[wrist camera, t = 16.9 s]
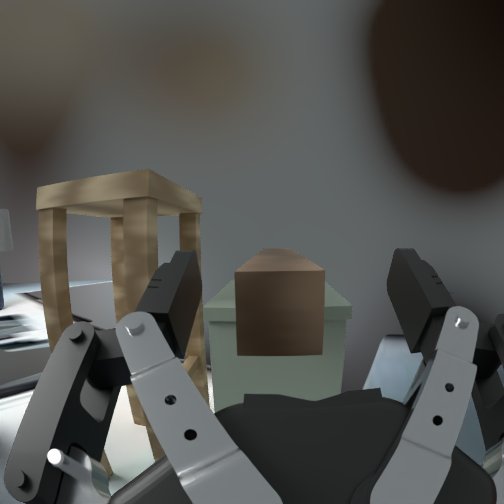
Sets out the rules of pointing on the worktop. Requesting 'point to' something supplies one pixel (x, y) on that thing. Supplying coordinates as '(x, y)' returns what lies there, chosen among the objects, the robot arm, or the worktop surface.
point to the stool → (120, 256)
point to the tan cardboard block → (279, 305)
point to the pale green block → (274, 367)
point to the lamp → (4, 242)
